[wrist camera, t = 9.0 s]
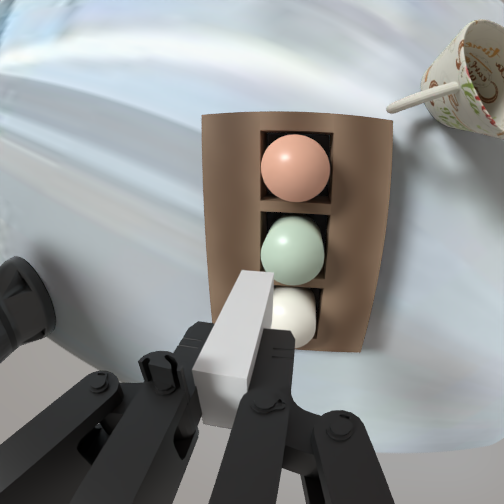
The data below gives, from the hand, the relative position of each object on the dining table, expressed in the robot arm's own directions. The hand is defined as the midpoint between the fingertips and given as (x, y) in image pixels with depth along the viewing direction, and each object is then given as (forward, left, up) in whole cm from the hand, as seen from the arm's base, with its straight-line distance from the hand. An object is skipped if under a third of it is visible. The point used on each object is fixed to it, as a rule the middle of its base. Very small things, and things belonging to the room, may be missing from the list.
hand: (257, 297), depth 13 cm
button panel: (+1, 0, -12) cm, 12 cm away
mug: (+13, +13, -13) cm, 22 cm away
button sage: (+1, 0, -11) cm, 11 cm away
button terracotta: (+1, +6, -11) cm, 12 cm away
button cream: (+1, -6, -11) cm, 13 cm away
